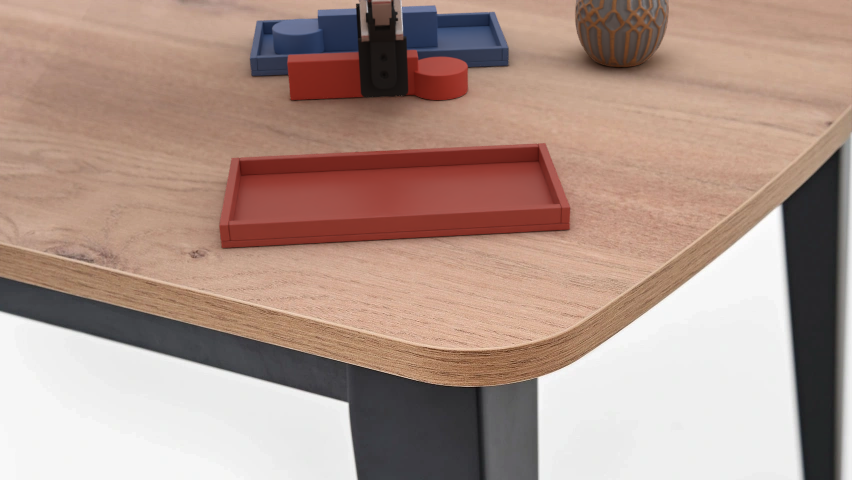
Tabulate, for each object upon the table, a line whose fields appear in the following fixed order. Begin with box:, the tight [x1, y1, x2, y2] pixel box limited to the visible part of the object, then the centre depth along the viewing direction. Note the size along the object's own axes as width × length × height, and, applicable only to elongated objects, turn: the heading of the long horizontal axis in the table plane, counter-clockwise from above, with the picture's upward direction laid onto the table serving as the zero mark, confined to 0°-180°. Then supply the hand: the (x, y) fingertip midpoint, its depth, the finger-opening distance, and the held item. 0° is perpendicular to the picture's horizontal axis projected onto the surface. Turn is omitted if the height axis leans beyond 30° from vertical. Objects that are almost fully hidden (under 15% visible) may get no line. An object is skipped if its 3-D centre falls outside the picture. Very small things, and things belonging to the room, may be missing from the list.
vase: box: [574, 0, 670, 68], centre depth 90 cm, size 7×7×9 cm
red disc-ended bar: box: [287, 50, 469, 101], centre depth 85 cm, size 12×4×3 cm, turn 96°
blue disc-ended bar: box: [272, 4, 438, 55], centre depth 93 cm, size 12×4×3 cm, turn 96°
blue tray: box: [249, 11, 510, 77], centre depth 93 cm, size 19×9×1 cm, turn 96°
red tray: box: [218, 142, 571, 249], centre depth 70 cm, size 19×9×1 cm, turn 96°
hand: (382, 73), depth 85 cm, fingers open, 7 cm apart
